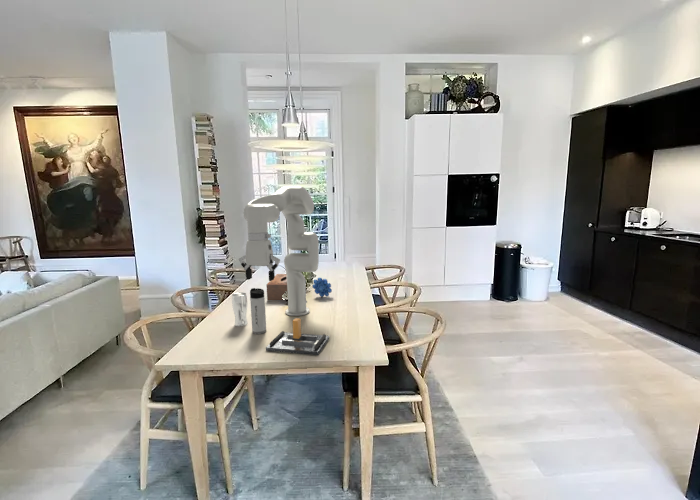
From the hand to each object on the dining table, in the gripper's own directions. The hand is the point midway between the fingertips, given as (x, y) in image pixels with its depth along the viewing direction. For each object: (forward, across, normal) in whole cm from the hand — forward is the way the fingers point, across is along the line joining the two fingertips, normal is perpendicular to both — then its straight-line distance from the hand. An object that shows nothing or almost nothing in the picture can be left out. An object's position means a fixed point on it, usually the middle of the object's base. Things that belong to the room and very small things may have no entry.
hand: (260, 279), depth 145 cm
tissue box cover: (+29, +24, -74) cm, 82 cm away
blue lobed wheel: (+28, -2, -72) cm, 78 cm away
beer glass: (+29, +24, -23) cm, 44 cm away
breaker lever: (+27, -12, -6) cm, 30 cm away
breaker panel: (+29, -13, -6) cm, 32 cm away
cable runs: (+27, -13, -6) cm, 31 cm away
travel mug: (+29, +10, -16) cm, 35 cm away
